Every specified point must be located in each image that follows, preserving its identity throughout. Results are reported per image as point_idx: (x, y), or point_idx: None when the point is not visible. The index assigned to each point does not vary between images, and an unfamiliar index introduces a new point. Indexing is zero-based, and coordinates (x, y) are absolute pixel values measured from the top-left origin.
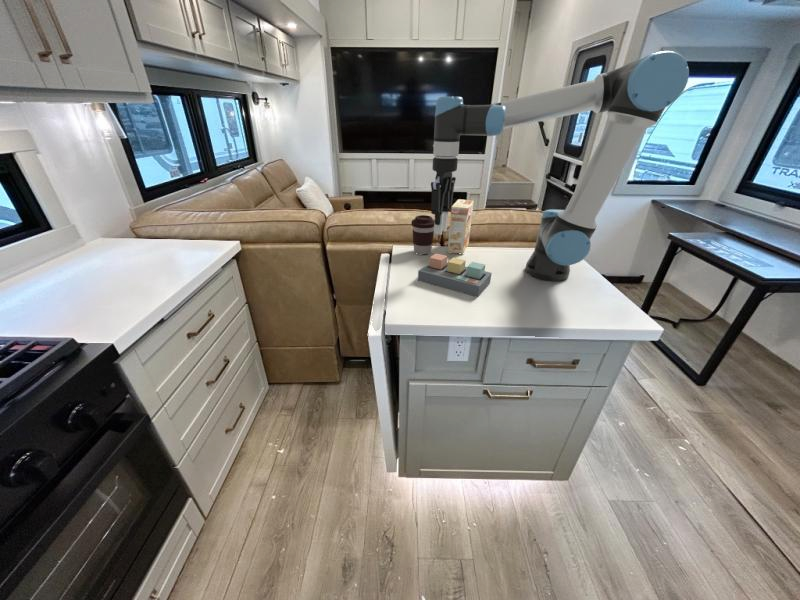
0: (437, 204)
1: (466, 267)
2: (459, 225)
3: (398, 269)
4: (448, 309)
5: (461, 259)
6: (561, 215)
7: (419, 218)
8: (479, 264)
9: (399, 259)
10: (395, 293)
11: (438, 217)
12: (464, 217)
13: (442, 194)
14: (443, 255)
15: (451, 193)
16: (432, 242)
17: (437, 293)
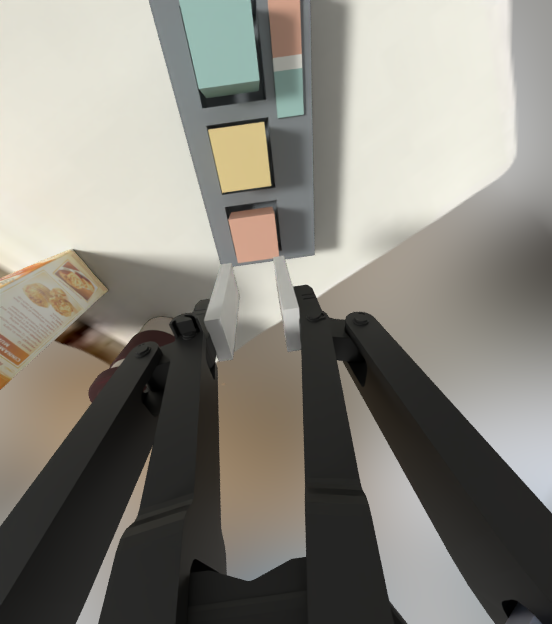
0: (416, 373)
1: (192, 138)
2: (10, 318)
3: None
4: (422, 56)
5: (215, 152)
6: None
7: None
8: (200, 28)
9: (241, 339)
10: (390, 244)
11: (321, 310)
12: None
13: (357, 472)
14: (233, 233)
15: (88, 469)
16: (138, 333)
17: (344, 155)
